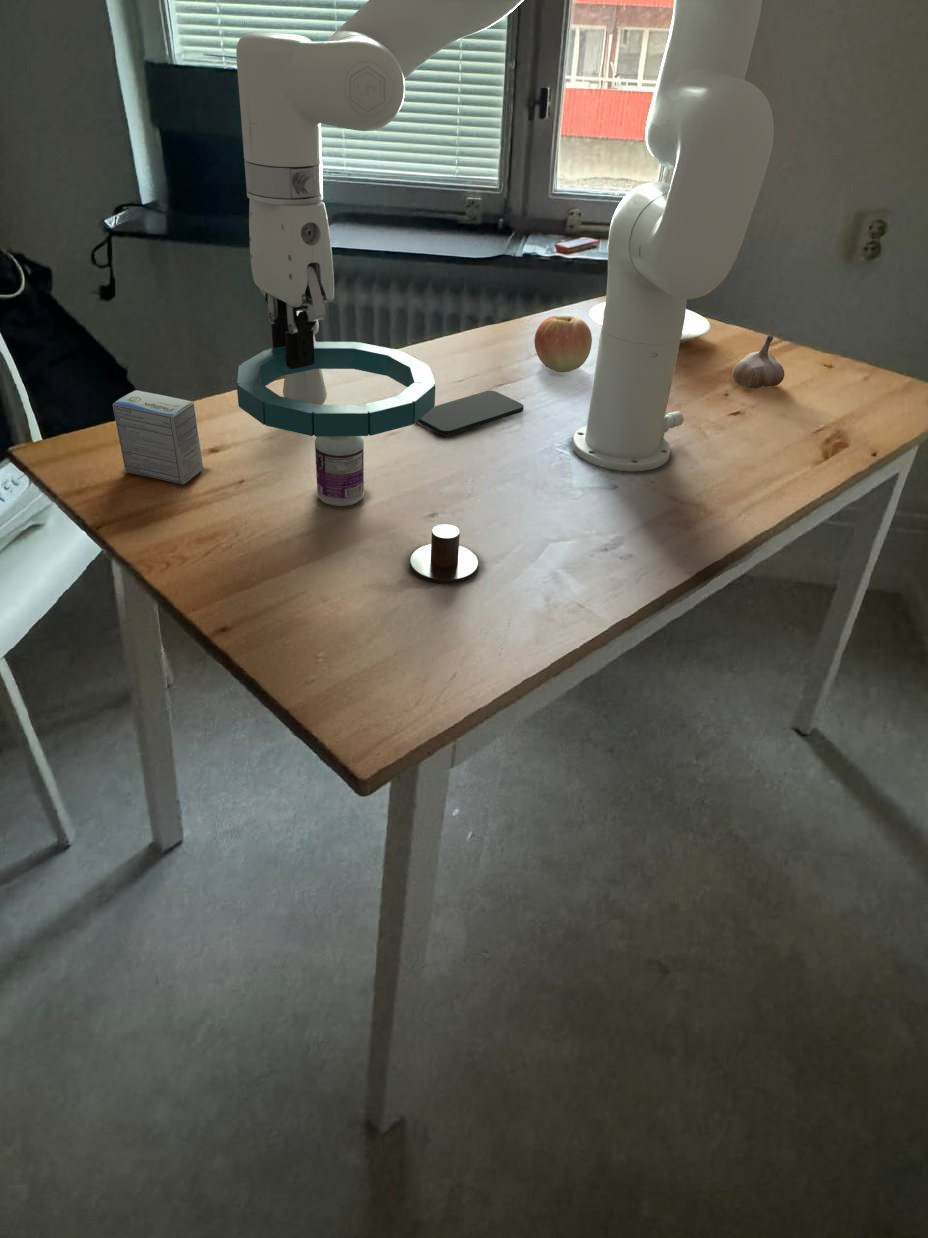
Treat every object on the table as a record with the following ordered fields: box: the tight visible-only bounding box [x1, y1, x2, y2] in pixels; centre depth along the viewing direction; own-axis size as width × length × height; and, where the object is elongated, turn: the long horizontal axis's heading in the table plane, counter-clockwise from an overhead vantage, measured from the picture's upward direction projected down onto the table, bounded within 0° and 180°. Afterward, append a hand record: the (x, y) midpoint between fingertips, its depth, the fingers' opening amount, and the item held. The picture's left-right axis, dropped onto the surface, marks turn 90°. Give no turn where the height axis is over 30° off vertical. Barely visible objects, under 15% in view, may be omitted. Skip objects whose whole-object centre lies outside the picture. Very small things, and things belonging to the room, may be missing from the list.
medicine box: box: [112, 390, 204, 486], centre depth 101 cm, size 8×4×9 cm, turn 71°
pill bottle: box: [314, 436, 365, 507], centre depth 98 cm, size 5×5×10 cm
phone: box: [416, 390, 525, 437], centre depth 121 cm, size 7×1×15 cm
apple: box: [533, 315, 593, 373], centre depth 136 cm, size 9×9×8 cm
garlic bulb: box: [732, 334, 785, 390], centre depth 135 cm, size 8×7×8 cm
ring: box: [236, 341, 437, 438], centre depth 93 cm, size 20×20×2 cm
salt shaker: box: [282, 310, 328, 405], centre depth 116 cm, size 6×6×13 cm
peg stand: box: [409, 523, 479, 585], centre depth 89 cm, size 7×7×4 cm
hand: (293, 360), depth 99 cm, fingers closed on ring, 2 cm apart
